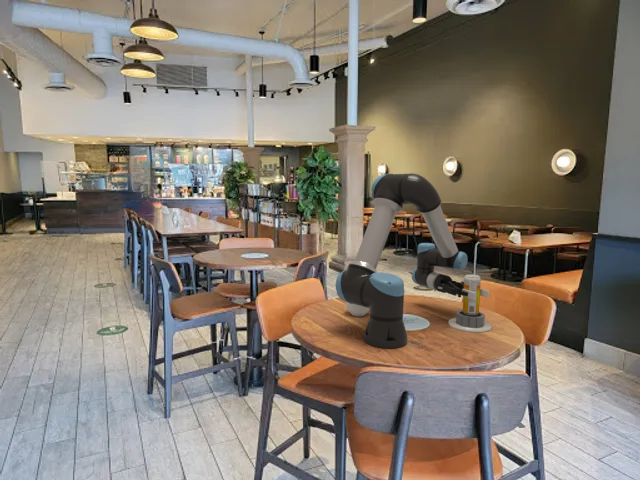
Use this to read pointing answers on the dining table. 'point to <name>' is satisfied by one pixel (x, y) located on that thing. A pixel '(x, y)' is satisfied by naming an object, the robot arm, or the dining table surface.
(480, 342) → the dining table surface
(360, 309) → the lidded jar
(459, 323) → the collar stand
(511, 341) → the dining table surface
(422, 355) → the dining table surface
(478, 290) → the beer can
